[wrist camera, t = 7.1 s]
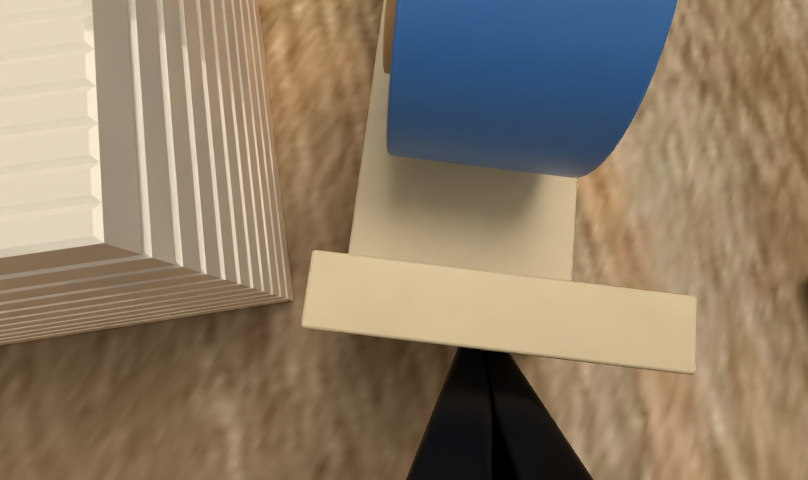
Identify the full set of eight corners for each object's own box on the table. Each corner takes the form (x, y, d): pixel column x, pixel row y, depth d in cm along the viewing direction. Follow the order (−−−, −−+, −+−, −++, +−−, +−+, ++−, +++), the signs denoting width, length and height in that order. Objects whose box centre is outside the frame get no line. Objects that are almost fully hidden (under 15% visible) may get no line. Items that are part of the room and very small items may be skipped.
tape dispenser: (532, 351, 16) (751, 383, 6) (347, 328, 16) (284, 327, 6) (558, -21, 18) (742, -402, 9) (398, -41, 18) (407, -448, 9)
